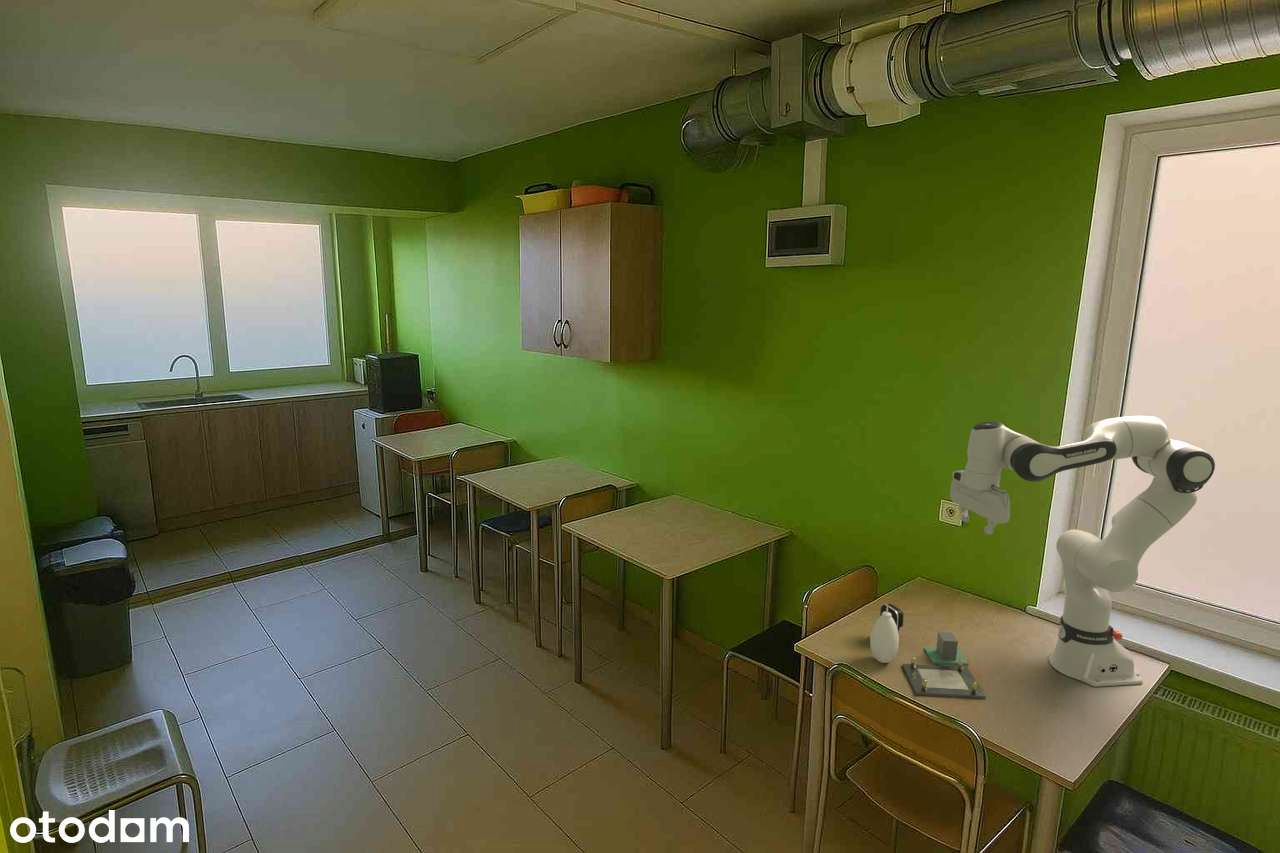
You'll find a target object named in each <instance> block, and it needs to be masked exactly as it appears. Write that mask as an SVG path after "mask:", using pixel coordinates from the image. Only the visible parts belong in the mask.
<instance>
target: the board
mask: <svg viewBox="0 0 1280 853" xmlns="http://www.w3.org/2000/svg"><path fill="white" fill-rule="evenodd" d="M958 644H959V641H958V639H957V638H956V636H955V635H954V633H953V632H949V631H948V632H945V631H938V632H937V641H936V647H934V646H933V647H930V646H928V647H927V646H924V647H923V650H924V652H925V653H926V655H927V657H928V659H929V660H930V663H931V665H940V666H958V662H959V659H963V667H968V666H969V661H967V659H966V657H965V656H964V654H963V652H962V651H961V650H960V648H958Z"/></svg>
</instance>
